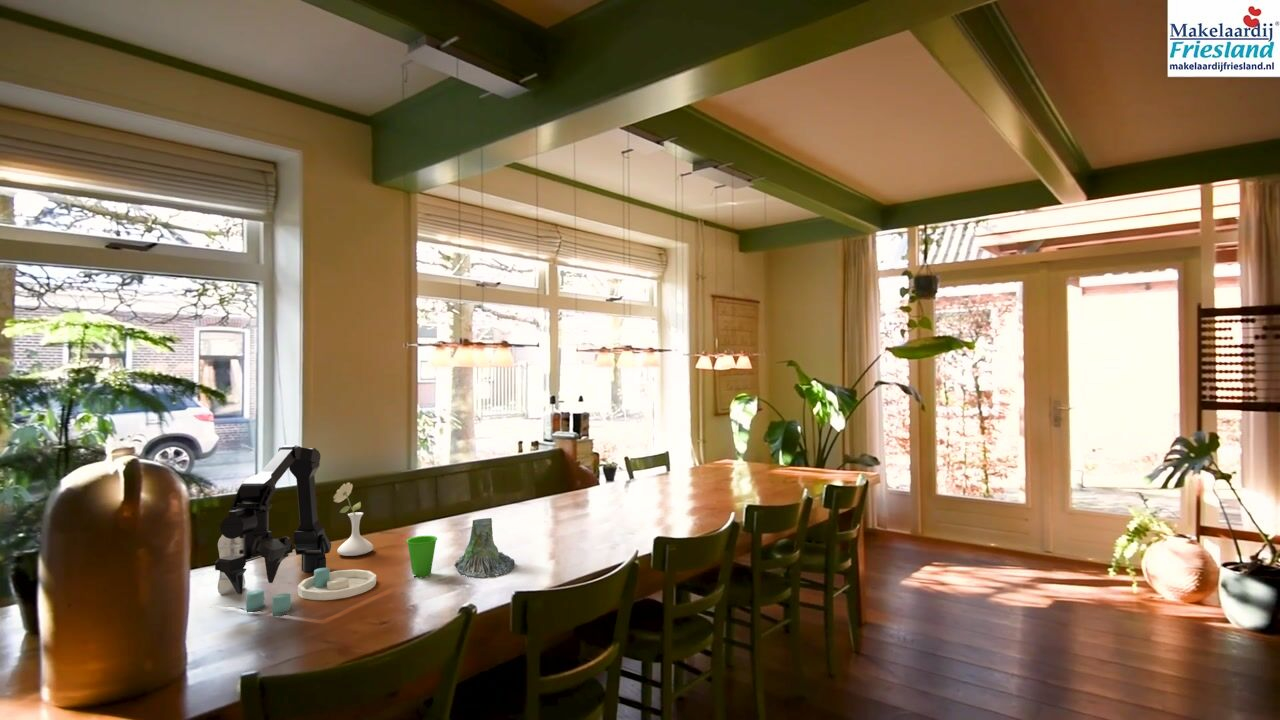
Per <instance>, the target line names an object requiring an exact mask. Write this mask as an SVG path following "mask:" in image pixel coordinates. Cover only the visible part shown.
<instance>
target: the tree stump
mask: <svg viewBox="0 0 1280 720" xmlns="http://www.w3.org/2000/svg"><path fill="white" fill-rule="evenodd" d="M493 534H494V533H493V519H492V517H490V518H489V517H487V518H479V519H473V520H472V525H471V532H470V539H469V542H468V544H467V546H466V548H465V549H464V553H463V555H461V556H459V557H458V559H456V561H454V562H455V564H453V565H454V567H455V568H456V570H457V572H458V573H459V574H460V576H462V575H465V576H464V577H466V576H467V577H466V578H469V577H474V578H473V579H489V578H488V577H490V578H497V577H496V576H498V577H502V576H505V575H508V574H509V572H510V573H511V572H513V570H515V568H516V563H515V560H514V558H512V557H510V556H509V555H507V554H505V553H503V552H501V551H499V549H498V547H497V546H496V544H495V542H494V536H493ZM494 573H496V574H494ZM507 573H508V574H507ZM504 574H505V575H504ZM501 575H502V576H501Z"/></svg>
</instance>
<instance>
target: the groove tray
mask: <svg viewBox="0 0 1280 720" xmlns="http://www.w3.org/2000/svg"><path fill="white" fill-rule="evenodd" d="M376 584H377V575H376V573H374V572H372V570H364V569H357V568H356V569H343V570H342V569H341V570H340V569H339V570H334V571H330V580H328V581H327V586H326V587H322V588H315V587H314V575H313V576H311V577H308V578H305V579H303V580H302V581H301V582H300V583H299V584H298V585H297V595H298V596H299V597H300V598H302V599H305V600H310V601H330V600H331V601H332V600H340V599H345V598H349V597H353V596H358V595H360V594H363V593H365V592H368V591H369V590H372V589H373V588H374V587H375V586H376Z"/></svg>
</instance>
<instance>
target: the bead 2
mask: <svg viewBox="0 0 1280 720" xmlns="http://www.w3.org/2000/svg"><path fill="white" fill-rule="evenodd" d="M291 598H292V597H291V594H290V593H286V592H285V593H279V594H276V595H274V596H272V616H273V617H276V616H279V617H284V615H285V616H288V615H287V613H285V612H288V611H290V610H291V605H292V604H291Z"/></svg>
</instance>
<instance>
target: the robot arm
mask: <svg viewBox="0 0 1280 720" xmlns="http://www.w3.org/2000/svg"><path fill="white" fill-rule="evenodd" d="M320 460H321V453H320V451H319V450H317V448H316V447H301V446H299V445H282V446H279V448H278V451H277V453H276V454H275V455H274V456H273V457H272V458H271V459H270V460H269V462H268V463H267V464H266V465H265V466H264V468H263V469H261V471H259V473H257V474H256V475H253V476H250V477H248V478H247V479H245V481H243V482H242V483H241V484H240V486H239V487H238V489H237V492H236V495H235V497H234V500H233V501H232V505H231V506H230V510H229V511H228V516H226V517H225V518H224V519H223V520H222V522H221V524H220V525H219V526H220V527H219V528H220V532H221V535H224V536H225V537H226V538H229V539H234V538H237V537H239V538H243V549H241V550H239V554H243V556H235V555H229V556H225V557H222V558H220V557H219V558H217V559H216V561H215V564H214V570H215V571H219V573H220V572H224V573H225V575H226V576H227V577H228V579H229V580H230V582H231V583H232V585H233V587H234V589H235V590H236V592H237V593H236V594H237V595H242V594H243V591H244V589H243V574H245V572H246V570H247V568H245V566H246V565H247V563H249V562H251V561H254V560H259V559H262V558H264V562H265V572H266V578H267V581H268V583H269V584H273V583H274V581H275V578H276V575H277V572H278V569H279V567H280V566H281V563H282V561H284V560H285V559H286V558H287V557H289V556H290V554H291V553H293V550H294V552H295V554H296V556H297V555H298V556H299V555H301V571H303V573H307V574H311V573H313V574H314V570H316V569H319V568H327V557H326V554H329V553H330V552H331V550H332V542H331V541H330V540H329V538H328V536H327V535H326V531H325V527H324V526H323V524H322V523H321V522H320V521H319V517H318V508H317V495H316V494H317V493H316V481H315V478H316V477H315V476H316V475H315V474H316V473H317V472H318V469H319V467H320V463H321V462H320ZM288 470H289V471H290V473H291V474H292V475H293V477H294V478H295V479H296V491H297V493H296V494H297V501H298V502H297V504H298V515H299V525H298V526H297V529H296V530H295V531H294V532H293V534H292V535H293V544H292V541H291V537H289V536H288V535H287V536H282V537H281V538H274V533H273V531H272V530H271V531H270V530H269V510H270V509H271V508H273V505H272V504H271V503H270V501H271V500H272V499H273V496H274V495H275V493H276V491H277V488H276V485H277V483H278V482H279V480H280V479H281V478H282V477H283V475H285V473H287V472H286V471H288ZM293 548H294V549H293Z"/></svg>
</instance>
